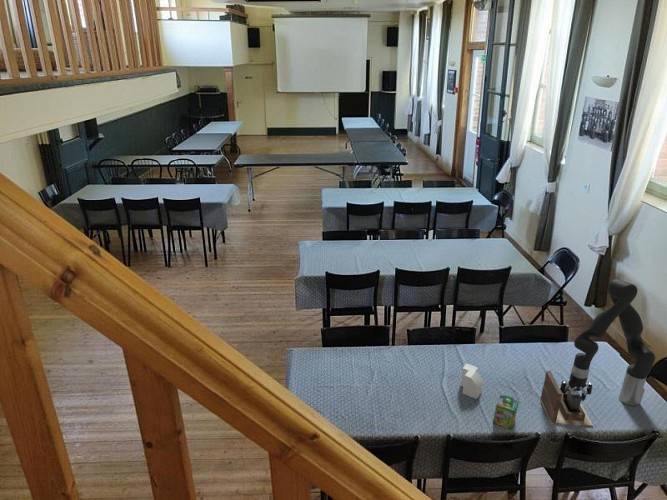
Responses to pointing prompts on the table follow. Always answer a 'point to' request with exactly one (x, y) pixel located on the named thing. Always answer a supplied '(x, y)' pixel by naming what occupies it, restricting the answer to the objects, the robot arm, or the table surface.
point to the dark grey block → (573, 401)
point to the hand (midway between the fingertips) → (573, 399)
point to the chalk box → (505, 411)
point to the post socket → (560, 405)
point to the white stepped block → (471, 381)
